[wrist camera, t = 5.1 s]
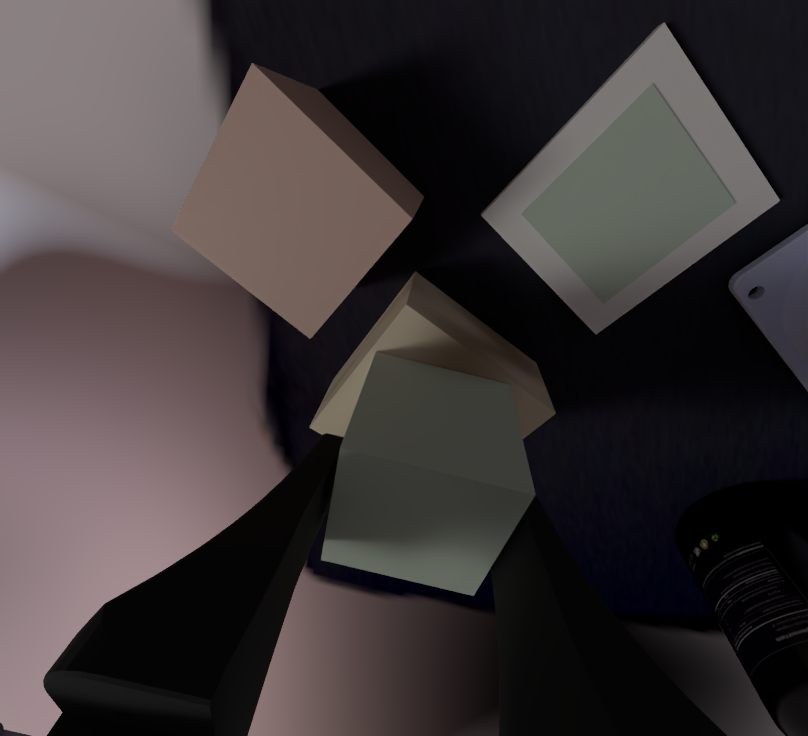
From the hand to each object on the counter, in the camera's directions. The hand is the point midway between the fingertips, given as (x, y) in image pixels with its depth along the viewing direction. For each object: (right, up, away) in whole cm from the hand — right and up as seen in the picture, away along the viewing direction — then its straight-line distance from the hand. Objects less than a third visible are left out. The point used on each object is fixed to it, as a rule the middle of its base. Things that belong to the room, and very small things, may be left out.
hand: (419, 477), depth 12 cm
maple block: (+1, +4, +6) cm, 7 cm away
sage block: (0, +2, +2) cm, 3 cm away
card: (+7, +9, +1) cm, 12 cm away
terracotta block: (-3, +10, +2) cm, 11 cm away
